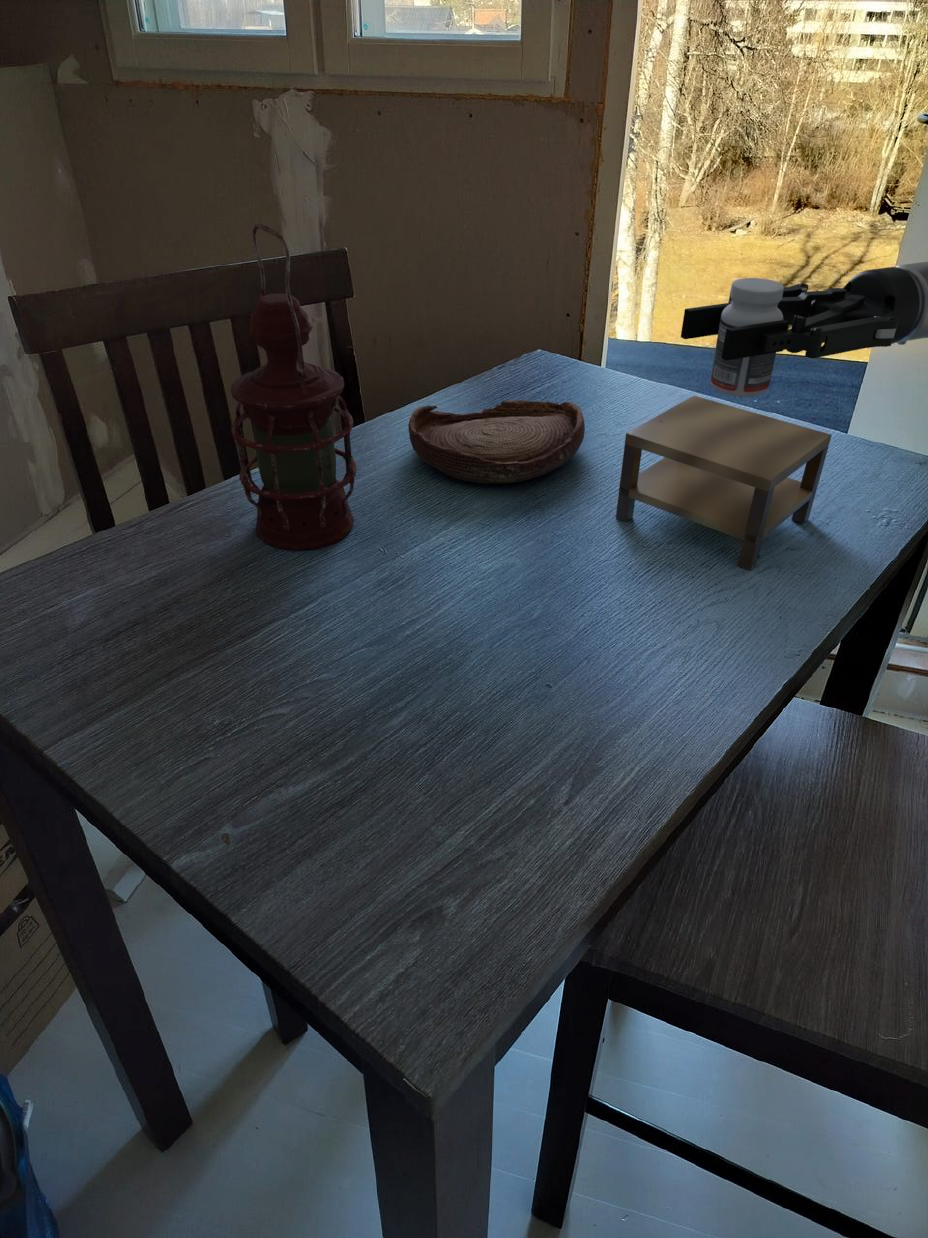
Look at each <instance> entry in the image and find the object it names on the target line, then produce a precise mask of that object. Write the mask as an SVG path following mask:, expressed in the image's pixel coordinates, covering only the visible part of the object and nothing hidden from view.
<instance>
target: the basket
mask: <svg viewBox="0 0 928 1238" xmlns="http://www.w3.org/2000/svg"><path fill="white" fill-rule="evenodd" d="M436 409H438V406H436V405H429V404H428V405H424V406H420V407H417V408H416V409H415V410H413V412H412V414H411V416H410V417H409V421H408V435H409V442H410V444H411V447H412V449H413V451H414V452H415V453H416V454H417V455H418V457H419V458H420V459H421V460H422V461H423V462H424V463H426V464H428V465H429V466H431V467H433V468H434V469H436V470H438V471H440V472H441V473H444V474H445V475H447V476H449V477H452V478H455V479H458V480H461V481H464V482H465V481H466V482H472V483H476V484H484V485H485V484H486V485H487V484H488V485H489V484H490V485H492V484H511V483H517V482H524V481H528V480H532V479H534V478H538V477H541V476H543V475H545V474H548V473H550V472H553V471H554V470H556V469H558V468H560V467H562V466H564V464H566V463H567V462H568V461H570V460H571V459H572V458H573V457H574V456H575V454H576V453H577V452H578V450H579V449H580V447H581V446H582V443H583V441H584V438H585V433H586V431H585V430H586V428H585V427H586V426H585V418H584V414H583V411H582V408H580V407H579V406H578V405H577V403H576V404H575V403H574V402H573V401H563V402H561V403H558V402H551V401H536V400H535V401H534V400H532V401H529V400H521V399H520V400H519V399H514V400H503V401H501V403H500V404H496V405H495V406H494V408H483V410H482V412H479V411H477V412H468V413H452V412H445V411H438V410H436ZM435 410H436V411H435Z"/></svg>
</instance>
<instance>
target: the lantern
mask: <svg viewBox="0 0 928 1238" xmlns="http://www.w3.org/2000/svg"><path fill="white" fill-rule="evenodd" d="M258 229H259V230H262V231H264V232H266V233H267V234H270V235H272V236H274V237H275V238H277V239H278V240H279V241H280V243H281V246H282V248H283V250H284V253H285V254H284V255H285V274H284V288H285V293H271V294H267V295H265V294H266V277H265V269H264V265H263V260H262V257H261V254H260V250H259V246H258V241H257V231H258ZM251 238H252V239H251V240H252V245H253V250H254V253H255V257H256V260H257V264H258V268H259V273H260V285H261V286H260V287H261V288H260V298H259V299H258V301H257V302H256V304H255V310H254V311H253V313H252V314H251V315H250V319H249V320H250V326H249V328H248V332H249V335H250V336H252V337H253V340H254V342H255V345H256V346H258V347H260V348H262V349H263V350H264V351H265V355H266V360H267V362H266V364H265V365H262V366H260V367H257V368H256V369H254V370H252V371H249V372H245V373H244V374H242V375H241V376H239V377H238V378H236V379H235V380H234V382H232V384H231V385H230V394H231V396H232V398H233V399H234V400H235V401H236V402H237V405H236V407H235V419H234V420H233V422H232V424H231V427H230V429H231V430H230V431H231V434H232V437H233V438H234V440H235V441H236V446H237V450H238V456H239V461H240V462H239V463H240V470H239V473H238V474H239V475H238V478H239V481H240V484H241V485H242V486H243V490H244V493H245V497H246V499H247V500H248V502H249V503H250V504H252V505H253V506H255V508H256V509H257V511H256V513H257V514H256V522H255V532H256V534H257V536H258V538H259V539H260V540H261V541H262V542H264V543H265V544H267V545H269V546H271V547H273V548H278V549H281V550H286V551H305V550H317V549H322V548H324V547H328V546H332V545H334V544H336V543H337V542H339V541H340V540H343V539H344V538H345V537H346V536H348V535H349V534H350V533H351V530H352V529H353V527H354V523H355V519H354V515H353V513H352V511H351V507H350V506H349V502H348V500H349V498H350V496H351V495H352V494H353V493H354V489H355V485H354V484H355V477H356V476H357V469H358V468H357V462H356V460H355V458H354V457H353V455H352V446H351V433H352V430H353V426H354V419H353V417H352V415H351V413H350V411H349V410H348V408H347V403H346V401H345V399H344V397H342V395H341V394H342V392H343V389H344V387H345V381H344V377H342V376H341V374H339V372H337V371H335V370H333V369H330V368H327V367H323V366H319V365H315V364H312V363H309V362H305V361H304V352H303V346H305V345H307V344H308V342H309V340H310V333H311V332H312V330H313V325H312V323H311V321H309V314H308V313H307V312H306V310H305V309H303V308H302V306H301V303H300V301H299V300H298V299H297V298H296V297H295V296H294V295H292V294H291V288H290V273H291V271H290V270H291V255H290V249H289V246H288V244H287V242H286V240H285V238H284V236H283V235H282V234H280V233H279V232H278V231H276V230H275V229H273V228H272V227H269V226H267V225H264V224H261V223H257V224H255V225H254V226H253V228H252V230H251ZM337 399H338V400H337ZM338 401H339V402H340V404H339V405H337V403H338ZM241 407H242V411H243V413H242V411H241ZM334 412H336V413H339V414H340V415H341V420H342V430H341V431H340V432H338V433H337V434H335V435H334V431H333V424H332V415H333V413H334ZM247 419H249V420H250V421H251V422H252V429H253V436H254V442H253V441H251V440H249V439H247V438H245V435H244V428H243V427H244V421H245V420H247ZM341 439H343V444H344V451H343V450H341V449H339V448H336V447H335V443H337V442H338V441H340V440H341ZM247 447H248V448H251V449H253V450H255V453H256V455H254V456H252V457H251V458H248V452H247V451H248V450H247ZM337 455H338V456H339V457H341V458H342V459H343V460H344V463H345V474H344V476H343V477H342V480H341V481H339V480H338V479H337ZM255 463H257V468H258V472H259V475H260V479H261V482H262V484H263V485H262V487H261V488H259V486H258V485H257V484H256V483H255V482H254V480H253V478H252V472H251V469H250V468H251V467H252V466H253V465H254V464H255ZM348 484H349V490H348V492H347V494H346V491H345V488H344V487H346V486H348ZM252 493H253V494H255V495H257V496H258V499H257V502H256V501H255V500H254V499H253V498H252Z"/></svg>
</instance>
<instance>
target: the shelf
mask: <svg viewBox="0 0 928 1238" xmlns="http://www.w3.org/2000/svg"><path fill="white" fill-rule="evenodd" d="M832 436H833V435H832V434H831V433H827V432H824V431H820V430H816V429H813V428H810V427H807V426H803V425H798V424H795V423H792V422H788V421H786V420H782V419H778V418H775V417H771V416H767V415H764V414H761V413H757V412H754V411H750V410H747V409H742V408H740V407H736V406H732V405H728V404H725V403H722V402H719V401H715V400H711V399H708V398H704V397H700V396H697V395H692V396H690V397H689V398H687V399H685V400H683V401H682V402H680V403H678V404H676V405H674V406H673V407H671V408H668V409H667V410H665V411H663V412H662V413H660V414H658V415H657V416H654V417H653V418H651V419H649V420H647V421H645V422H644V423H642V424H640V425H638V426H637V427H635V428H633V429H631V430H629V431H628V432H626V433H625V439H624V445H623V446H624V447H623V449H624V450H623V456H622V464H621V472H620V478H619V479H620V480H619V487H618V496H617V503H616V510H615V511H616V512H615V518H616V519H617V520H620V521H623V522H624V523H627V522H628V521H630V520H631V519H633V517H634V511H635V505H636V504H635V503H636V501H638V502H640V503H643V504H645V505H648V506H651V507H654V508H656V509H659V510H662V511H664V512H667V513H670V514H672V515H675V516H678V517H681V518H682V519H685V520H689V521H691V522H693V523H696V524H699V525H702V526H704V527H706V528H709V529H712V530H715V531H718V532H719V533H723V534H726V535H729V536H731V537H734V538H736V539H738V540H742V543H741V546H740V547H741V548H740V552H739V557H738V560H737V566H738V567H740V568H742V569H745V570H747V571H751V570H752V569H753V568H754V567H755V566H756V565H757V561H758V557H759V553H760V550H761V545H762V541H763V539H765V538H766V537H767V536H768V535H770V534H771V533H772V532H773V531H774V530H775V529H777V528H778V527H779V526H780V525H782V523H784V522H785V521H786V520H787V519H788V518H790V517H791V521H794V522H797V523H800V524H802V525H803V524H805V523H806V522H807V521H808V520H810V516H811V511H812V509H813V506H814V505H813V504H814V500H815V496H816V494H817V490H818V487H819V483H820V479H821V476H822V472H823V468H824V464H825V461H826V458H827V454H828V450H829V447H830V444H831V440H832ZM643 451H645V452H648V453H651V454H654V455H657V456H660V457H663V458H661V459H660V460H659V461H657V462H655V463H654V464H652V465H650V466H649V467H647V468H646V469H643V470H642V471H641V472H640V467H641V460H642V452H643ZM804 465H805V466H804ZM803 466H804V470H803V474H802V477H801V481H800V480H796V479H794V478H791V477H789V476H791V475H792V474H794V473H795V472H796V471H798V470H799V469H800V468H801V467H803Z"/></svg>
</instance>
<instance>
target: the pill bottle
mask: <svg viewBox="0 0 928 1238" xmlns="http://www.w3.org/2000/svg"><path fill="white" fill-rule="evenodd" d="M784 287H785V286H784V284H782V283H781V282H778V281H776V280H773V279H768V278H760V277H743V278H738V279H735V280H733V281H732V283H731V287H730V291H729V296H730V297H731V299H732V302H731V304H730V305H728V306H727V307H726V308H725V309H724V310H723V312H722V314H721V319H720V325H719V331H718V335H717V337H716V343H715V349H714V355H713V361H712V367H711V373H710V378H709V379H710V380H709V382H710V386H711V387H712V389H714V390H715V391H716V392H719V393H721V394H724V395H726V396H730V397H731V396H733V397H740V398H749V397H756V396H760V395H762V394H764V393H766V392H767V391H768V389H769V387H770V384H771V380H772V374H773V370H774V366H775V362H776V361H775V360H776V355H777V352H776V353H769V354H763V355H757V356H751V357H745V358H739V359H733V360H727V361H726V360H724V359H722V358H721V356H722V351H723V345H724V340H725V334H726V329H727V328H733V327H740V326H747V325H753V324H760V323H767V322H773V321H780V320H783V314H782V312H781V311H780V310H779V309H778V308H777V306H778V303H779V302H780V301H781V300H782V295H783V290H784Z"/></svg>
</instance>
